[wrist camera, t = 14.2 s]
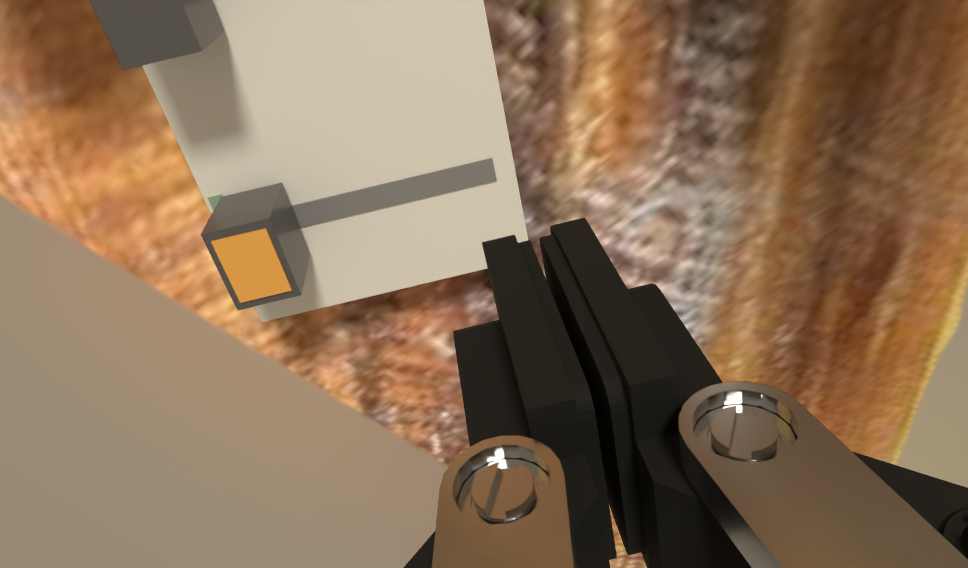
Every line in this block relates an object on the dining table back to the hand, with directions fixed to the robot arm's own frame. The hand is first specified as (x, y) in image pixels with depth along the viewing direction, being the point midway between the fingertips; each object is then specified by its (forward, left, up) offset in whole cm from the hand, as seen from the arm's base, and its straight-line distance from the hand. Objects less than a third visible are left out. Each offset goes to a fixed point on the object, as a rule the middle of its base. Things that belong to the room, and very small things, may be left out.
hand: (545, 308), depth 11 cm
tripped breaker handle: (+11, +7, -22) cm, 25 cm away
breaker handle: (+10, -4, -22) cm, 25 cm away
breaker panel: (+5, +1, -25) cm, 26 cm away
